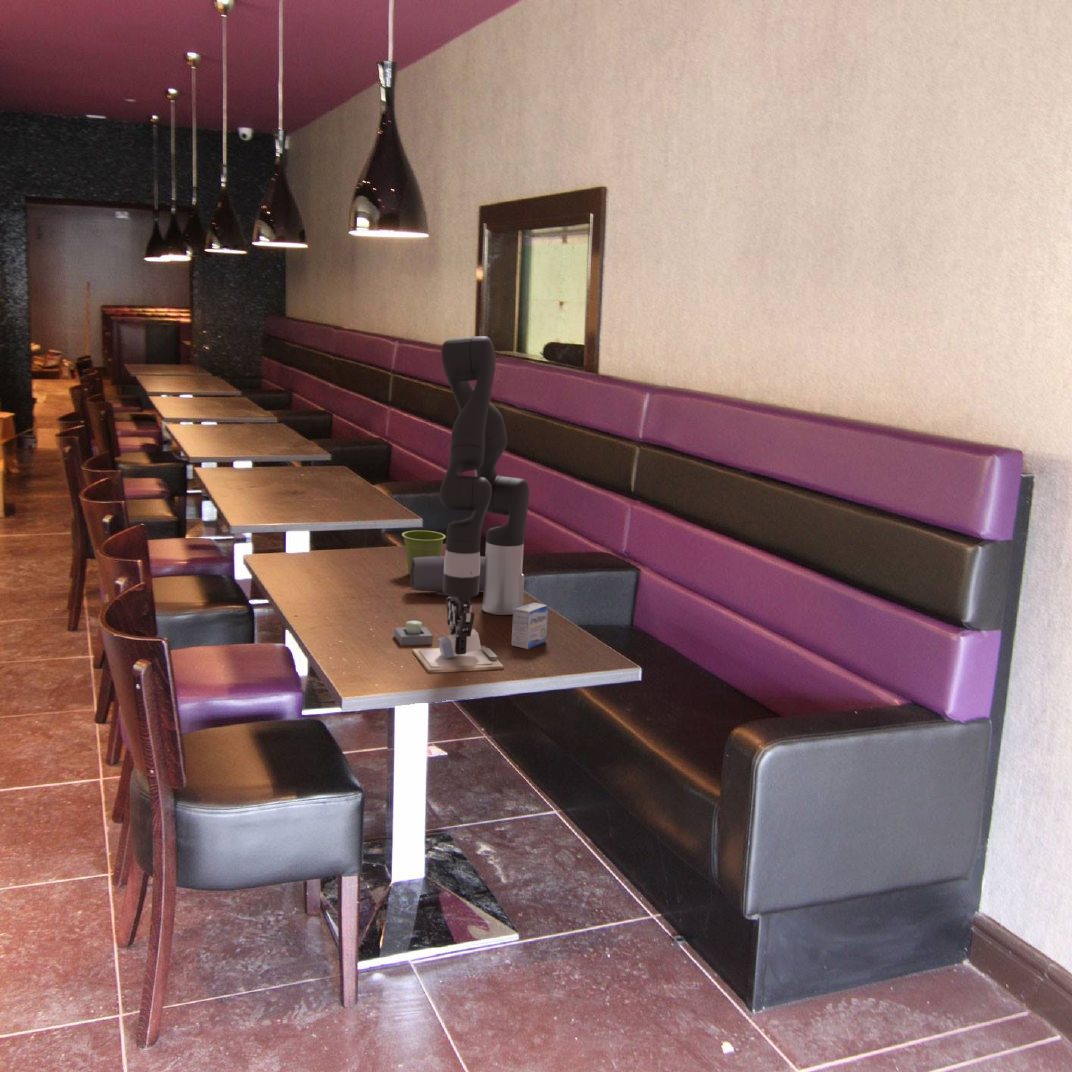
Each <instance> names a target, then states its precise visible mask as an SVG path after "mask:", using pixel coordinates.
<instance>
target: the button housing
mask: <svg viewBox="0 0 1072 1072" xmlns="http://www.w3.org/2000/svg"><path fill="white" fill-rule="evenodd" d="M393 635H394V636H393V637H394V638H395V639H396V641H397V642H398V643H399V645H400V646H402V647H403V646H426V645H428V646H429V645H433V644H434V643H433V640H434V636H433V634H432V632H430V630H429V629H428V628H427V627H426V626H422V629H421V634H409V635H407V634H406V626H405V627H404V626H403V627H394V633H393Z"/></svg>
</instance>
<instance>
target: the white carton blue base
mask: <svg viewBox="0 0 1072 1072" xmlns="http://www.w3.org/2000/svg"><path fill="white" fill-rule="evenodd" d="M437 642H438V648H440V653H441V655H442V656H443V657H444V658H445V659H447V658H451V657H454V656H458V655H461V654H456V653H455V644H456V635H455V634H453V635H451V634H450V635H446V636H442V637H438V638H437ZM481 646H482V645H481V640H480V636H479V632H477V630H476V629H475V628H472V632H471V636H469V637H467V643H466V653H468V652H472V651H475V650H479V649H481Z"/></svg>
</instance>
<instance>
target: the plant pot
mask: <svg viewBox="0 0 1072 1072" xmlns="http://www.w3.org/2000/svg"><path fill="white" fill-rule="evenodd" d="M401 536H402V537H403V540H404V541H403V542H404V545H405V551H406V552H405V553H406V561H407V571H408V575H409V576H410V569H411V563H412V558H417V557H431V556H440V553H441V548H442V546H443V542H444V539H446V538H447V535H445V534H443V533H442V532H437V531H431V530H409V531H404V532H402V533H401Z"/></svg>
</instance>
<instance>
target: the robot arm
mask: <svg viewBox="0 0 1072 1072" xmlns="http://www.w3.org/2000/svg"><path fill="white" fill-rule="evenodd" d="M440 356H441V357H440V358H441V365H442V367H443V371H444V374H445V377H446V380H447V381H448V385H449V387H450V389H451V391H452V395H453V398H454V400H455V402H456V404H457V405H456V406H457V408H458V411H459V414H458V415H457V417H456V419H455V421H454V422H453V425H452V428H451V434H450V435H451V437H450V454H449V462H448V466H447V470H446V472H445V474H444V478H443V480H442V483H441V485H440V488H439V489H440V490H439V494H438V495H439V501H440V503H441V505H442V506H443V508H445V509H446V510H451V511H468V512H469V511H471V512H472V514H471V515H470V516H469V517H468V518H464V519H459V520H454V521H451V522H449V523H448V525H447V528H446V537H445V540H446V541H445V555H444V556H445V559H444V576H443V592H444V593H445V594H446V595H445V596H446V599H445V601H446V618H447V621H446V623H447V625H448V626H449V627H448V628H449V631H450V635H453V634H455V635H456V644H455V653H456V654H465V653H466V643H467V637H469V636H471V632H472V629H473V625H474V621H475V617H476V616H475V612H472V610H473V609H472V608H473V607H472V606H473V605H472V603H471V598H472V597H476V596H477V595H479V592H480V591H479V580H480V556H481V538H482V527H483V523H484V520H485V516H486V513H490V514H496V515H502V516H508V520H507V523H504V524H502V525H500V526H495V527H491V528H489V529H487V531H486V534H485V553H484V554H485V555H484V557H485V569H484V588H483V591H482V592H483V593H482V611H483V612H485V613H488V614H491V615H497V616H510V615H512V616H513V610H514V609H516V608H518V607H521V606H524V591H525V590H524V589H525V574H523V563H524V562H523V561H524V544H525V535H526V529H527V528H526V527H527V520H528V519H527V517H528V510H529V501H530V487H529V483H528V482H527V480H526V479H524V478H519V477H513V476H512V477H510V476H502V475H499V474H498V473H497V469H496V466H497V463H498V462H499V460H500V458H501V457H502V455H503V453H504V451H505V450H506V449H507V448H506V447H507V446H508V445H507V444H508V434H507V429H506V424H505V421H504V417H503V415H502V413H501V412H500V411H499V409H498V408H497V407H496V406H495V405H494V404H493V403H492V402H491V397H492V391H493V385H494V380H495V374H496V352H495V346H494V344H493V341H492V339H491V338H490V337H488V336H483V335H481V336H469V337H457V338H450V339H447V340H445V341H444V342H443V344H442V346H441V350H440ZM471 381H476V382H475V383H476V384H475V385H474V386H473V385H472V383H471ZM473 471H476V472H475V473H476V476H471V475H470V476H469V475H468V476H466V475H462V473H463V474H464V473H466V472H473ZM447 596H448V597H447Z"/></svg>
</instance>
